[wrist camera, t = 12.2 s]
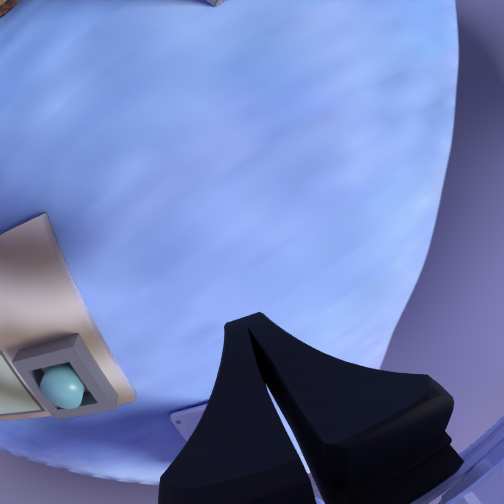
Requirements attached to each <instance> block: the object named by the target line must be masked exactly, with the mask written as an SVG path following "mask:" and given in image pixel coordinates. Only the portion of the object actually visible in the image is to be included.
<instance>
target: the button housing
mask: <svg viewBox="0 0 504 504" xmlns="http://www.w3.org/2000/svg"><path fill="white" fill-rule="evenodd" d="M66 362H70V364H71V365H72V367H73V368H74V370H75V371H76V373H77V374H78V376H79V377H80V379H81V380H82V382H83V383H84V384H85V386H86V387H87V389H88V390H89V391H87V392H84V393H83V397H82V401H81V404H80V405H79V406H78V407H77V408H74V409H65V408H61V407H58V406H56V405H54V404H52V403H51V402H50V401H49V400H47V399H46V397H45V396H44V395H43V393H42V391H41V388H40V383H41V380H42V378H43V376H44V372H43V370H42V369H41V368H44V367H49V366H53V365H57V364H62V363H66ZM12 364H13V365H14V367H15V368H16V370H17V371H18V373H19V374H20V375H21V377H22V378H23V380H24V381H25V382H26V384H27V385H28V386H29V388H30V389H31V390H32V392H33V393H34V394H35V396H36V397H37V398H38V399H39V401H40V402H41V403H42V404H43V406H44V407H45V408H46V409H47V410H48V412H49V413H50V414H51V415H52V416H53V418H54V419H55V420H56V419H64V418H71V417H77V416H84V415H90V414H96V413H102V412H107V411H112V410H116V409H117V401H118V394H117V392H116V391H115V390H114V388H113V387H112V385H111V384H110V382H109V381H108V379H107V378H106V376H105V375H104V373H103V372H102V370H101V369H100V367H99V365H98V364H97V362H96V361H95V359H94V357H93V356H92V354H91V353H90V351H89V349H88V348H87V346H86V344H85V342H84V341H83V339H82V337H81V336H80V334H79V333H77V334H74V335H70V336H67V337H63V338H60V339H56V340H53V341H49V342H45V343H42V344H38V345H34V346H31V347H27V348H23V349H20V350H18V352H17V354H16V355H15V357H14V359H13V360H12Z"/></svg>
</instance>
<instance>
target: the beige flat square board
mask: <svg viewBox="0 0 504 504" xmlns="http://www.w3.org/2000/svg"><path fill="white" fill-rule="evenodd" d="M77 333H79V334H80V336H81V337H82V339H83V341H84V342H85V344H86V346H87V348H88V349H89V351H90V353H91V354H92V356H93V357H94V359H95V361H96V362H97V364H98V365H99V367H100V369H101V370H102V372H103V373H104V375H105V376H106V378H107V379H108V381H109V382H110V384H111V385H112V387H113V388H114V390H115V391H116V392H117V394H118V401H117V405H119V404H124V403H129V402H133V401H136V392H135V390H134V389H133V387H132V385H131V384H130V382H129V381H128V379H127V378H126V376H125V375H124V373H123V371H122V370H121V368H120V367H119V365H118V363H117V362H116V360H115V358H114V357H113V355H112V353H111V352H110V350H109V348H108V346H107V345H106V343H105V341H104V339H103V337H102V336H101V334H100V332H99V330H98V328H97V327H96V325H95V323H94V321H93V319H92V317H91V315H90V313H89V311H88V309H87V307H86V305H85V303H84V301H83V299H82V297H81V295H80V293H79V291H78V289H77V287H76V284H75V282H74V280H73V278H72V276H71V273H70V271H69V269H68V267H67V264H66V262H65V260H64V257H63V255H62V252H61V250H60V247H59V245H58V242H57V240H56V237H55V235H54V232H53V229H52V227H51V224H50V221H49V218H48V215H47V213H44V214H41V215H39V216H37V217H35V218H33V219H31V220H29V221H26V222H24V223H22V224H20V225H18V226H16V227H14V228H12V229H10V230H8V231H6V232H4V233H2V234H0V419H1V421H6V420H19V419H29V418H38V417H47V416H52V415H51V414H50V413H49V412H48V410H47V409H46V408H45V407H44V406H43V404H42V403H41V402H40V401H39V399H38V398H37V397H36V396H35V394H34V393H33V392H32V390H31V389H30V388H29V386H28V385H27V384H26V382H25V381H24V380H23V378H22V377H21V375H20V374H19V373H18V371H17V370H16V368H15V367H14V365H13V364H12V360H13V359H14V357H15V355H16V354H17V352H18V350H20V349H23V348H27V347H31V346H34V345H38V344H42V343H45V342H49V341H53V340H56V339H60V338H63V337H67V336H70V335H74V334H77ZM41 369H42V370H43V372H44V373H45V371H46V369H47V367H44V368H41ZM87 391H89V390H88V389H87V387H86V386H85V389H84V392H87Z"/></svg>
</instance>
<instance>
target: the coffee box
mask: <svg viewBox="0 0 504 504" xmlns="http://www.w3.org/2000/svg"><path fill="white" fill-rule="evenodd" d="M206 1H207V2H209V3H210V4H211V5H212V6H218V5H220V4H221V3H223V2H224V1H226V0H206Z"/></svg>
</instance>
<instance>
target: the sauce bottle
mask: <svg viewBox="0 0 504 504" xmlns="http://www.w3.org/2000/svg"><path fill="white" fill-rule="evenodd" d="M18 1H19V0H0V17H1V16H2V15H4V14H6V13H7V12H8V11H9V10H10V9H12V8H13V7H14V6H15V4H17V3H18Z"/></svg>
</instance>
